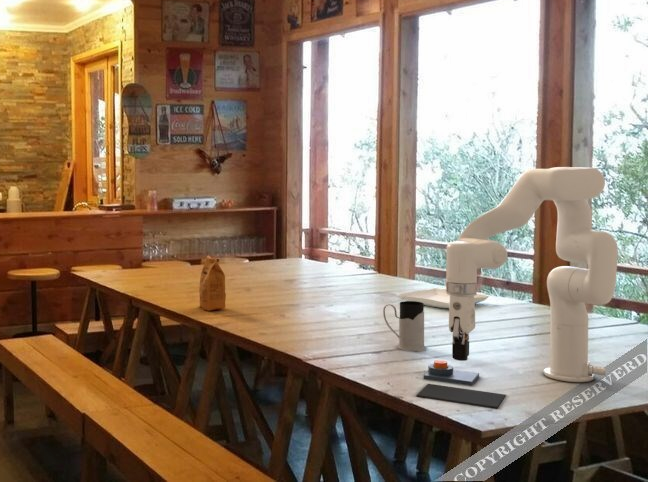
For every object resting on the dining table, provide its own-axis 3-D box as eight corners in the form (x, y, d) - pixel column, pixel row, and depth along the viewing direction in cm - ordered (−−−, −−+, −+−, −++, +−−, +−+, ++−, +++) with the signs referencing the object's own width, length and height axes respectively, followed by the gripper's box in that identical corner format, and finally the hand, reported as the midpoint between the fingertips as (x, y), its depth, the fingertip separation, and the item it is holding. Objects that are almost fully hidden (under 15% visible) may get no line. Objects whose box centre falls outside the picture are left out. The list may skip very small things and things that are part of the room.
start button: (448, 367, 228) (448, 361, 228) (445, 370, 225) (445, 363, 225) (435, 365, 230) (435, 359, 230) (432, 368, 227) (432, 362, 227)
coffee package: (218, 304, 342) (217, 254, 341) (228, 310, 330) (227, 258, 329) (196, 306, 339) (195, 255, 338) (205, 311, 327) (204, 259, 326)
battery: (468, 358, 210) (468, 335, 209) (465, 361, 207) (466, 338, 206) (455, 356, 211) (455, 334, 211) (452, 359, 209) (452, 336, 208)
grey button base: (479, 377, 227) (479, 366, 227) (471, 386, 219) (471, 375, 218) (432, 370, 234) (432, 361, 234) (423, 379, 226) (423, 368, 226)
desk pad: (505, 396, 209) (505, 394, 209) (497, 408, 199) (497, 407, 199) (428, 385, 220) (428, 383, 220) (416, 396, 210) (416, 394, 210)
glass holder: (419, 352, 255) (419, 306, 255) (377, 346, 265) (377, 301, 264) (429, 347, 262) (429, 302, 261) (389, 341, 271) (389, 298, 271)
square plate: (490, 303, 333) (490, 294, 332) (451, 312, 317) (451, 302, 317) (435, 295, 355) (435, 286, 355) (395, 302, 340) (395, 293, 340)
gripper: (469, 294, 199) (468, 366, 200) (482, 285, 213) (482, 352, 214) (438, 292, 203) (438, 362, 204) (453, 283, 217) (453, 348, 218)
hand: (460, 356), depth 209 cm, fingers closed on battery, 3 cm apart
